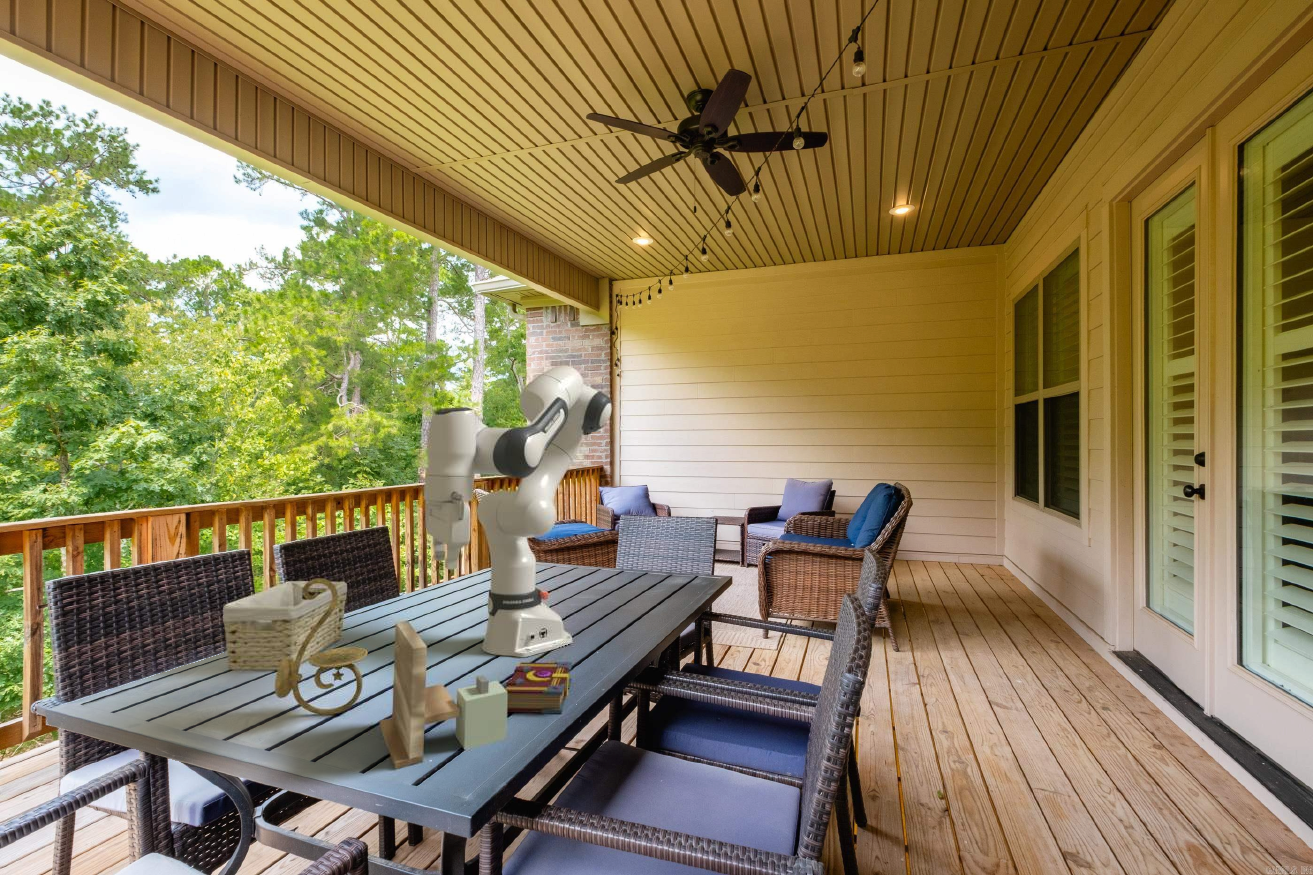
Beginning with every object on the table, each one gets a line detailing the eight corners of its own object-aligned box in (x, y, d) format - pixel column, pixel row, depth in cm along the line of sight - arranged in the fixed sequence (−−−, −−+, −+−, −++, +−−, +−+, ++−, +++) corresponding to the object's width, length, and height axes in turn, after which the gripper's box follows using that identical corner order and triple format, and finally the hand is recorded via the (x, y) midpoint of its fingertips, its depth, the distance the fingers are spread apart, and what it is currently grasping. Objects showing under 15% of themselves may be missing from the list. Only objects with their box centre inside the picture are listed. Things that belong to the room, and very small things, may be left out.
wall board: (438, 712, 105) (441, 615, 105) (461, 751, 92) (465, 640, 92) (379, 725, 99) (383, 623, 100) (395, 769, 86) (399, 651, 87)
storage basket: (291, 674, 121) (294, 605, 122) (215, 673, 121) (218, 604, 121) (348, 637, 145) (350, 580, 146) (284, 637, 145) (287, 579, 145)
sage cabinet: (501, 723, 101) (502, 668, 101) (511, 737, 97) (513, 678, 97) (455, 735, 97) (457, 677, 97) (464, 749, 92) (466, 688, 92)
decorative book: (501, 714, 105) (502, 687, 105) (520, 680, 121) (521, 656, 121) (562, 715, 105) (562, 688, 106) (572, 680, 122) (573, 657, 122)
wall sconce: (268, 728, 97) (274, 584, 98) (296, 704, 107) (301, 573, 108) (353, 725, 99) (358, 583, 100) (373, 701, 109) (377, 572, 109)
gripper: (481, 494, 99) (477, 573, 99) (453, 488, 117) (449, 555, 116) (444, 494, 96) (439, 575, 95) (421, 488, 113) (416, 556, 112)
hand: (444, 564), depth 106 cm, fingers open, 8 cm apart
